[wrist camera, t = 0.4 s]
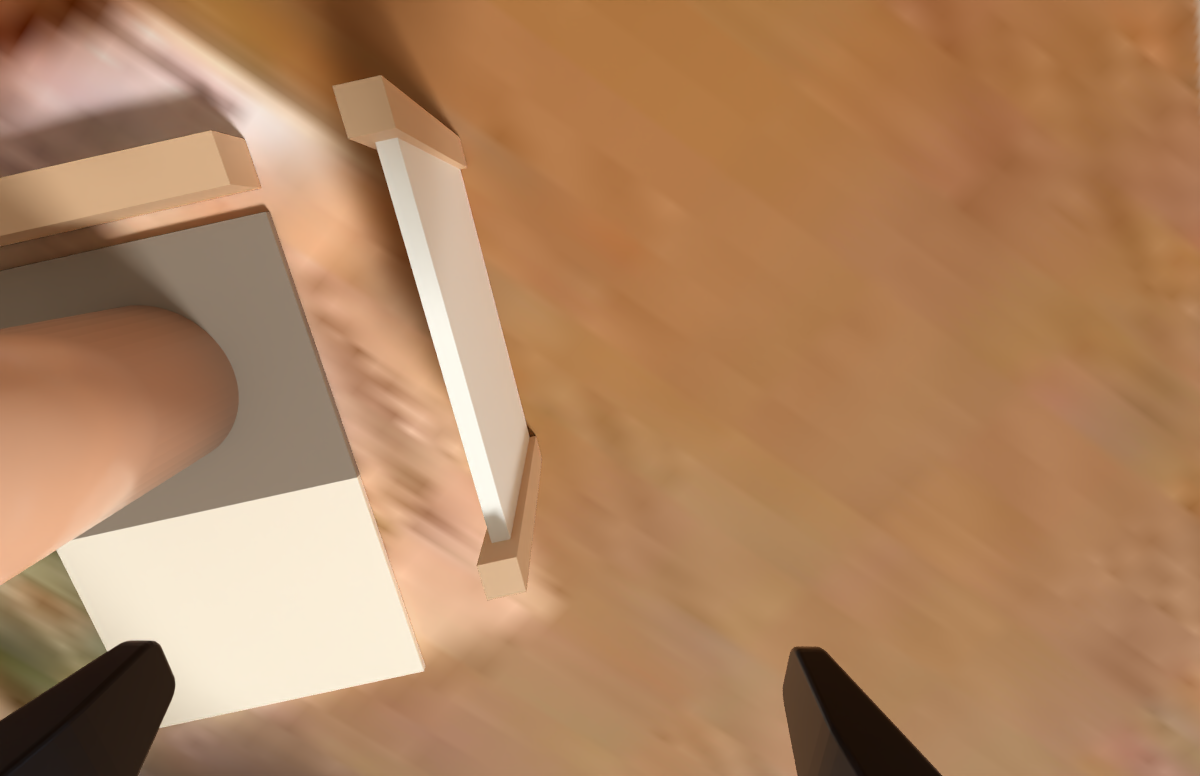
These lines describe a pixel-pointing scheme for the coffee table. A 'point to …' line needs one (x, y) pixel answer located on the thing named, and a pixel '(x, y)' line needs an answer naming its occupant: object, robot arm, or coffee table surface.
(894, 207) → the coffee table surface
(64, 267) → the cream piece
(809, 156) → the coffee table surface
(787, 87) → the coffee table surface
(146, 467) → the tan tall round cup
